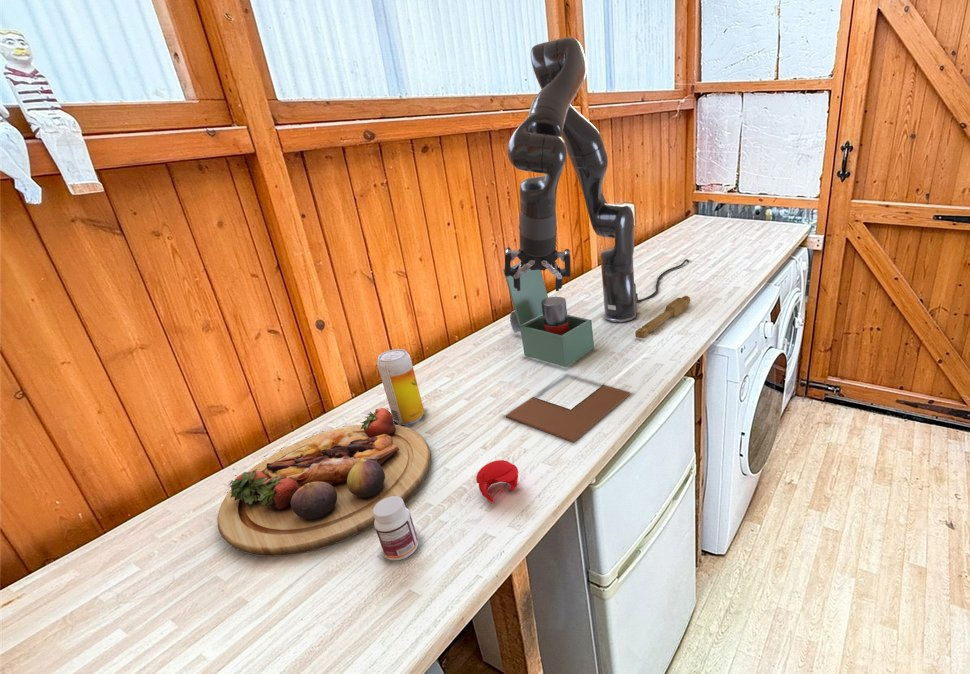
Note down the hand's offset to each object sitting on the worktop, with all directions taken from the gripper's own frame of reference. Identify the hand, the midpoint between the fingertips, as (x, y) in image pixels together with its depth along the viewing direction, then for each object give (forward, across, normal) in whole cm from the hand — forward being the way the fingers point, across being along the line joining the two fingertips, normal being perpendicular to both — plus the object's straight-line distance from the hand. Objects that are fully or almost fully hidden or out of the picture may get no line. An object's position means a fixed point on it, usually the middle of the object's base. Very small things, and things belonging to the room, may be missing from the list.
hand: (538, 288), depth 118 cm
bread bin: (+22, -6, +1) cm, 22 cm away
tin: (+21, -5, 0) cm, 21 cm away
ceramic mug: (+29, +3, -15) cm, 33 cm away
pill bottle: (+3, +21, +57) cm, 60 cm away
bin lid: (+9, +2, -10) cm, 14 cm away
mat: (+12, -6, +24) cm, 28 cm away
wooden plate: (+11, +35, +41) cm, 55 cm away
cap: (+5, +7, +48) cm, 49 cm away
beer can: (+17, +27, +22) cm, 39 cm away
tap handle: (+23, -37, -14) cm, 46 cm away
